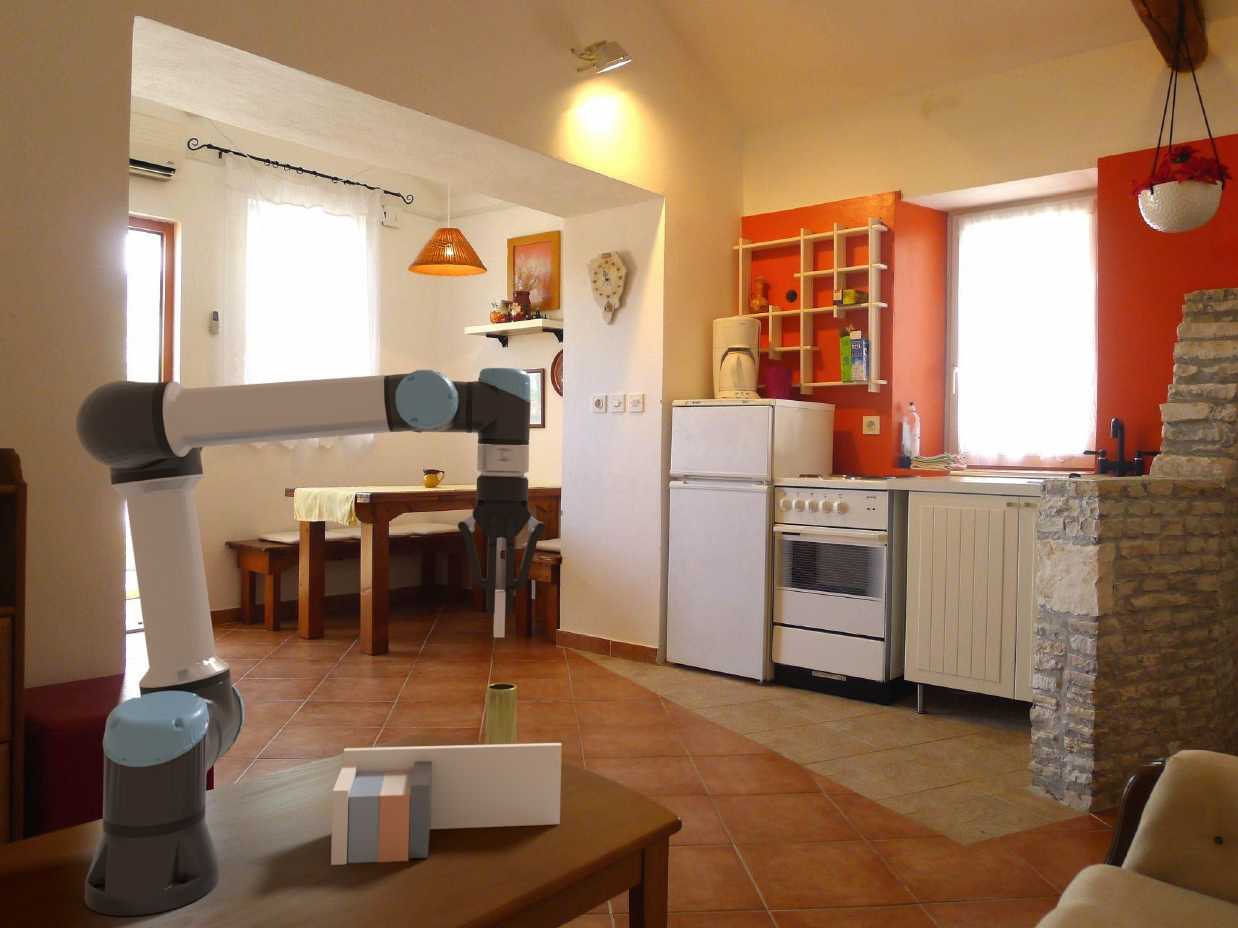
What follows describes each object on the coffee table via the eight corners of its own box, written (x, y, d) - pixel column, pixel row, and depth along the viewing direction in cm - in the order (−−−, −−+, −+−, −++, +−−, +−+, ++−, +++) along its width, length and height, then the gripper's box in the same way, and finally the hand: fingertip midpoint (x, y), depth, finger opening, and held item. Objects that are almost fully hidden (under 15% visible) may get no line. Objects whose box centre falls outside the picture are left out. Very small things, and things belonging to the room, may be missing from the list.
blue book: (347, 862, 126) (349, 796, 126) (356, 833, 136) (357, 772, 136) (378, 861, 127) (379, 795, 127) (384, 832, 136) (385, 771, 136)
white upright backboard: (331, 864, 125) (333, 775, 125) (342, 829, 137) (344, 748, 137) (567, 854, 130) (569, 768, 130) (558, 820, 142) (560, 742, 142)
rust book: (377, 862, 126) (379, 796, 126) (384, 832, 136) (385, 771, 136) (408, 860, 127) (410, 795, 127) (412, 831, 137) (414, 770, 137)
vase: (478, 769, 165) (480, 689, 165) (488, 758, 171) (490, 681, 171) (511, 771, 164) (513, 691, 164) (521, 761, 170) (522, 683, 170)
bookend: (408, 858, 127) (410, 785, 127) (413, 829, 137) (414, 761, 137) (427, 857, 128) (429, 784, 128) (430, 828, 138) (431, 761, 137)
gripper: (457, 474, 131) (453, 640, 131) (549, 476, 133) (545, 640, 133) (457, 473, 139) (454, 631, 139) (545, 475, 141) (541, 630, 141)
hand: (498, 635), depth 136 cm, fingers closed
